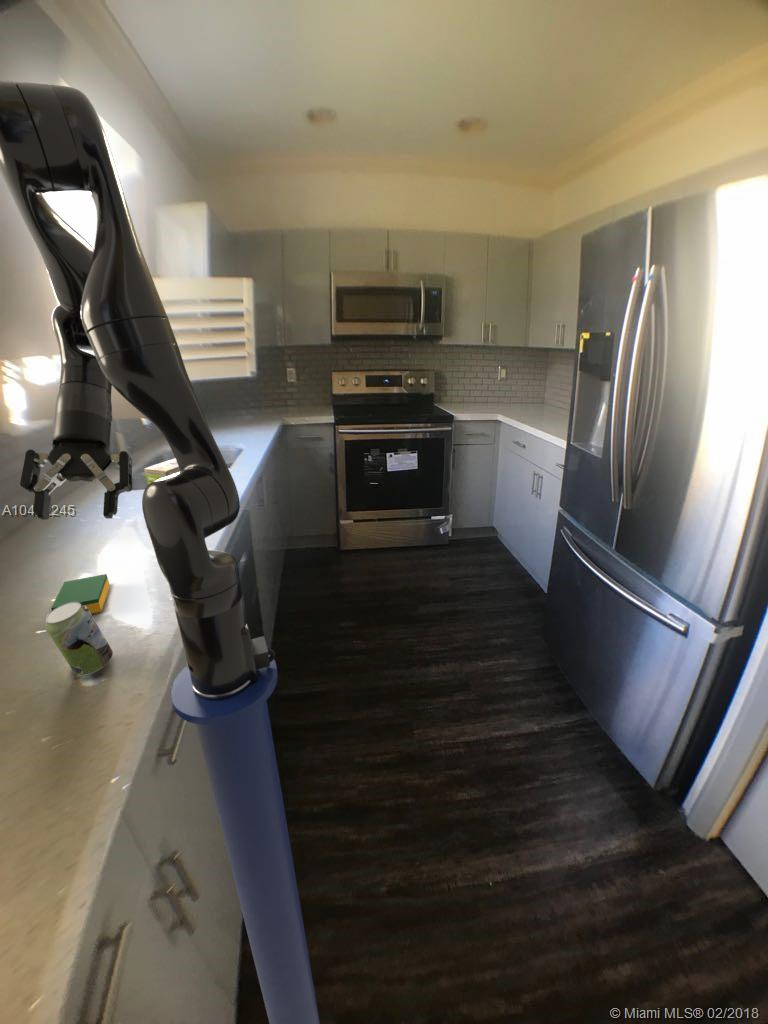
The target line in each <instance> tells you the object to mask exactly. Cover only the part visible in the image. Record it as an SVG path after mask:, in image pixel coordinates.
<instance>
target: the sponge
mask: <svg viewBox="0 0 768 1024" xmlns="http://www.w3.org/2000/svg"><path fill="white" fill-rule="evenodd" d="M110 586H111V584H110V581H109V577H108V575H107V573H104V574H99V575H93V576H89V577H83V578H77V579H71V580H67V581H64V582H63V583H62V585H61V588H60V590H59V592H58V594H57V596H56V598H55V600H54V601H53V603H52V606H51V607H50V609H51V611H52V610H54V609H55V608H57V607H59V606H61V605H63V604H66V603H69V602H79V603H80V604H81V605H83V606H86V607H87V608H88V609H89V611H90V613H91V615H92V614H97V613H101V612H103V608H104V607H105V602H106V599H107V596H108V593H109V591H110Z"/></svg>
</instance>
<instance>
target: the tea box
mask: <svg viewBox="0 0 768 1024" xmlns="http://www.w3.org/2000/svg"><path fill="white" fill-rule="evenodd" d="M143 471H144V475H145V479H146V484H147V486H148V485H149V484H150V483H152V482H153V481H156V480H158V479H161V478H163V477H166V476H169V475H171V474H174V473H177V472H180V469H179V466H178V463H177V461H176V459H175V457H174V458H172V459H169V460H166V461H162V462H159V463H156V464H153V465H151V466H148V467H144V468H143Z"/></svg>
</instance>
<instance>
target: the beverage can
mask: <svg viewBox="0 0 768 1024" xmlns="http://www.w3.org/2000/svg"><path fill="white" fill-rule="evenodd" d="M45 630H46V632H47V634H48V635H49V637H50V638H51V640H52V641H53V643H54V644H55V647H56V648H57V649H58V651H59V652H60V653H61V655H62V657H63V658H64V660H65V661H66V663H67V664H68V666H69V668H71V670H72V672H73V673H74V674H75V675H78V676H87V675H92V674H94V673H97V672H99V671H100V670H102V669H103V668H104V667H106V666H107V664H108V663H109V662H110V661H111V659H112V658H113V653H114V652H113V649H112V647H111V645H110V644H109V642H108V641H107V639H106V637H105V636H104V634H103V632H102V630H101V628H100V626H99V625H98V623H97V622H96V619H95V618H94V616H93V615H92V614H91V613H90V611H89V609H88V608H87V607H86V606H83V605H81V604H80V603H79V602H69V603H66V604H63V605H61V606H59V607H57V608H55V609H54V610H51V611H50V612H49V613H48V614H47V615H46V616H45Z"/></svg>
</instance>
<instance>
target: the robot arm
mask: <svg viewBox="0 0 768 1024" xmlns="http://www.w3.org/2000/svg"><path fill="white" fill-rule="evenodd" d="M0 173H1V176H2V178H3V181H4V182H5V185H6V186H7V188H8V190H9V193H10V195H11V197H12V199H13V201H14V203H15V205H16V208H17V210H18V212H19V214H20V216H21V218H22V220H23V222H24V224H25V226H26V227H27V230H28V231H29V234H30V235H31V237H32V239H33V242H34V243H35V245H36V247H37V249H38V251H39V253H40V255H41V256H40V257H41V258H42V260H43V264H44V265H45V268H46V271H47V274H48V278H49V280H50V284H51V288H52V290H53V293H54V296H55V299H56V300H57V302H58V305H57V306H56V307H55V308H54V309H53V311H52V314H51V322H52V329H53V332H54V335H55V338H56V342H57V345H58V350H59V355H60V356H59V357H60V378H59V386H58V387H59V388H58V393H57V396H56V401H55V407H54V408H55V410H54V417H53V418H54V420H53V428H52V429H53V430H52V439H51V440H52V441H51V449H50V451H49V452H36V451H35V450H34V449H28V450H26V451H25V456H24V460H23V465H22V470H21V471H22V472H21V476H20V482H19V484H20V487H21V488H23V489H25V490H26V491H28V492H29V493H34V500H33V509H32V510H33V513H34V514H35V515H36V516H37V518H38V519H39V520H43V521H44V520H45V521H47V520H49V519H50V513H51V504H52V503H51V501H52V496H51V493H53V492H54V491H55V490H56V489H57V488H58V487H60V486H62V485H63V484H64V483H65V482H67V481H68V482H79V481H84V482H94V481H95V480H98V481H99V482H100V483H101V484H102V486H103V487H104V488H105V489H106V491H104V496H103V510H102V511H103V513H102V514H103V517H104V518H105V519H107V520H109V519H113V517H114V516H116V515H117V513H118V506H119V495H121V494H122V493H130V492H131V491H133V459H132V457H131V456H130V454H129V453H128V451H125V450H122V451H120V452H119V453H111V450H110V449H111V435H112V434H111V433H112V422H113V405H112V388H114V390H115V391H117V392H118V393H119V395H121V396H122V397H123V399H125V400H126V401H127V402H128V403H129V404H130V405H131V406H132V407H133V408H135V409H136V411H138V412H140V413H141V414H142V415H143V416H144V417H145V418H146V419H148V421H149V422H151V424H152V425H153V426H155V427H156V429H157V430H158V431H159V432H160V433H161V435H162V436H163V437H164V439H165V440H166V442H167V444H168V446H169V448H170V450H171V452H172V454H173V456H174V458H175V459H176V461H177V463H178V466H179V469H180V472H177V473H174V474H171V475H169V476H166V477H163V478H161V479H158V480H156V481H153V482H152V483H150V484H149V485H148V484H147V485H146V487H145V488H144V490H143V493H142V497H141V498H142V499H141V505H142V506H141V508H142V509H141V510H142V515H143V519H144V521H145V525H146V529H147V533H148V536H149V538H150V541H151V545H152V548H153V551H154V554H155V555H154V556H155V557H156V562H157V565H158V567H159V570H160V571H161V574H162V575H163V577H164V578H165V580H166V581H167V584H168V586H169V591H170V596H171V599H172V604H173V608H174V612H175V613H174V614H175V616H176V621H177V625H178V629H179V634H180V639H181V641H182V647H183V650H184V654H185V658H186V659H185V660H186V661H185V662H186V666H188V667H189V669H188V670H189V671H190V676H191V681H192V687H193V691H194V693H195V694H196V695H197V696H198V697H200V698H202V699H205V700H223V699H227V698H230V697H233V696H235V695H237V694H239V693H241V692H242V691H244V690H245V689H246V688H248V687H249V686H250V685H251V684H254V683H257V682H258V678H257V672H256V670H257V669H261V668H265V667H268V666H270V662H272V661H273V660H275V657H276V652H275V651H274V650H273V649H271V648H268V646H267V642H266V638H265V636H264V635H263V636H259V637H255V638H251V631H250V627H249V622H248V617H247V611H246V606H245V601H244V594H243V589H242V583H241V577H240V570H239V565H238V561H237V559H236V558H235V556H234V555H233V554H231V553H229V552H227V551H223V550H214V549H212V550H211V549H208V546H207V543H206V538H208V537H210V536H212V535H214V534H216V533H218V532H219V531H221V530H223V529H225V528H226V527H228V526H230V525H231V524H232V523H234V522H235V521H236V520H237V518H238V516H239V513H240V509H241V507H240V502H241V501H240V496H239V492H238V488H237V485H236V482H235V479H234V478H233V475H232V473H231V472H230V469H229V466H228V464H227V462H226V460H225V458H224V456H223V454H222V452H221V450H220V448H219V445H218V444H217V442H216V439H215V438H214V435H213V433H212V431H211V429H210V426H209V425H208V422H207V421H206V418H205V415H204V413H203V410H202V408H201V405H200V402H199V400H198V397H197V395H196V393H195V389H194V386H193V385H192V382H191V380H190V378H189V374H188V372H187V369H186V366H185V363H184V360H183V356H182V354H181V350H180V347H179V345H178V344H179V343H178V341H177V338H176V335H175V333H174V331H173V328H172V325H171V322H170V320H169V317H168V313H167V312H166V310H165V307H164V304H163V301H162V300H161V296H160V294H159V292H158V289H157V287H156V285H155V282H154V279H153V276H152V274H151V271H150V268H149V266H148V263H147V260H146V258H145V256H144V253H143V249H142V247H141V243H140V242H139V239H138V238H139V237H138V235H137V232H136V229H135V226H134V223H133V219H132V216H131V212H130V209H129V206H128V202H127V200H126V197H125V193H124V190H123V187H122V183H121V180H120V176H119V172H118V170H117V165H116V163H115V160H114V157H113V153H112V150H111V147H110V144H109V141H108V137H107V135H106V132H105V129H104V127H103V124H102V122H101V119H100V117H99V115H98V113H97V111H96V109H95V106H94V105H93V104H92V102H91V100H90V99H89V97H87V95H86V94H85V93H83V91H81V90H80V89H77V88H75V87H71V86H67V85H59V84H49V83H48V84H47V83H38V82H37V83H36V82H24V81H12V80H0ZM80 193H81V194H83V193H85V194H86V193H87V194H90V196H91V197H92V200H93V202H94V205H95V210H96V231H95V241H94V247H93V246H92V245H91V243H90V242H88V240H87V239H85V238H84V237H83V236H82V235H81V234H80V233H79V232H78V231H77V230H75V229H74V228H73V227H72V226H71V225H69V224H68V223H67V222H66V220H64V219H63V218H62V217H61V216H60V215H59V214H58V213H57V212H56V211H55V210H54V209H53V208H52V207H51V206H50V204H49V203H48V202H47V200H46V199H45V197H44V196H43V194H80ZM86 351H90V352H91V351H92V352H93V354H92V353H89V352H86ZM47 462H49V464H51V466H50V467H49V469H48V470H47V471H46V472H45V473H44V474H43V477H42V478H41V479H40V476H41V475H40V474H41V469H42V468H44V467H45V465H46V464H47ZM112 463H114V464H115V466H116V467H117V468H119V469H118V470H119V482H116V483H114V482H113V480H112V479H110V477H109V476H108V475H107V473H105V471H106V470H107V469H108V468H109V466H110V465H111V464H112ZM269 655H270V657H269Z"/></svg>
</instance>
